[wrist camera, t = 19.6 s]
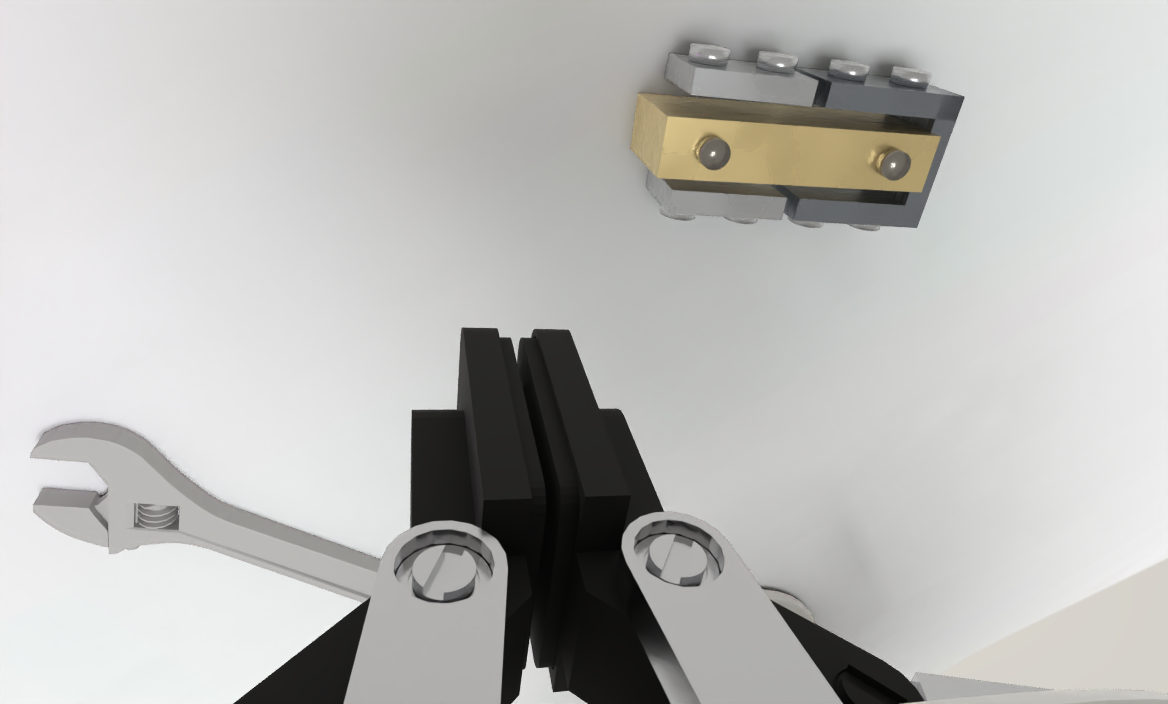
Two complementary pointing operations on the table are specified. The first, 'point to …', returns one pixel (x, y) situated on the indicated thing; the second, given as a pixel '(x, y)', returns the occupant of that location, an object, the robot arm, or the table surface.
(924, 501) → the table surface
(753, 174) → the master link
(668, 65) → the chain end grey
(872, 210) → the chain end dark
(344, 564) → the adjustable wrench
